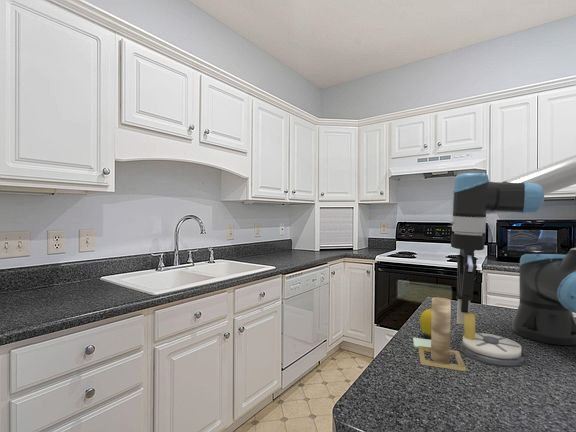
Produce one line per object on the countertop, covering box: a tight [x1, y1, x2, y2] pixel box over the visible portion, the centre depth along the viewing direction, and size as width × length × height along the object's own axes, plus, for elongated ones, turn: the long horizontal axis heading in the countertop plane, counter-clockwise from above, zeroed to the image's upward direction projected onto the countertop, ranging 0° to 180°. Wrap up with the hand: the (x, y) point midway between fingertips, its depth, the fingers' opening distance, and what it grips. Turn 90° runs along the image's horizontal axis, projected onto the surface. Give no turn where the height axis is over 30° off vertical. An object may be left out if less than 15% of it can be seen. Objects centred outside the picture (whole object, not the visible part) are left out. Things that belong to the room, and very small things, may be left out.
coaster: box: [412, 337, 431, 349], centre depth 82 cm, size 6×6×1 cm
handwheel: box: [462, 312, 522, 359], centre depth 77 cm, size 12×12×8 cm
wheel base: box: [460, 340, 525, 368], centre depth 77 cm, size 13×13×1 cm
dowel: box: [430, 296, 452, 363], centre depth 74 cm, size 4×4×14 cm
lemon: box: [419, 307, 432, 338], centre depth 88 cm, size 6×6×8 cm
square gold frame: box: [417, 346, 467, 372], centre depth 74 cm, size 9×9×1 cm
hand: (462, 323), depth 83 cm, fingers closed
